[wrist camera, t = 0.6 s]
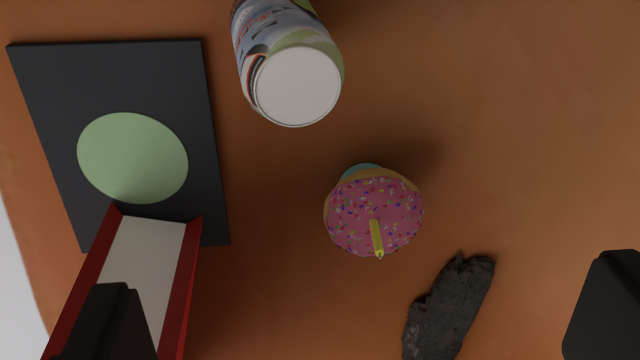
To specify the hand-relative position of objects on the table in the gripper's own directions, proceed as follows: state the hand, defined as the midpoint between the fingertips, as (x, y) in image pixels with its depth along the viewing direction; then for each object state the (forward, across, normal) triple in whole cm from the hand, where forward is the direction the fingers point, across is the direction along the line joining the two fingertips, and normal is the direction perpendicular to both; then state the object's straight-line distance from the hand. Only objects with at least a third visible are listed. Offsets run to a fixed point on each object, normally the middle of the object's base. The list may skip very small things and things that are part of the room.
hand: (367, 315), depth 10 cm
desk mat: (+30, +15, +12) cm, 36 cm away
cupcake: (+31, -5, +17) cm, 35 cm away
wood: (+31, -14, +37) cm, 50 cm away
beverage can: (+30, +2, +2) cm, 30 cm away
